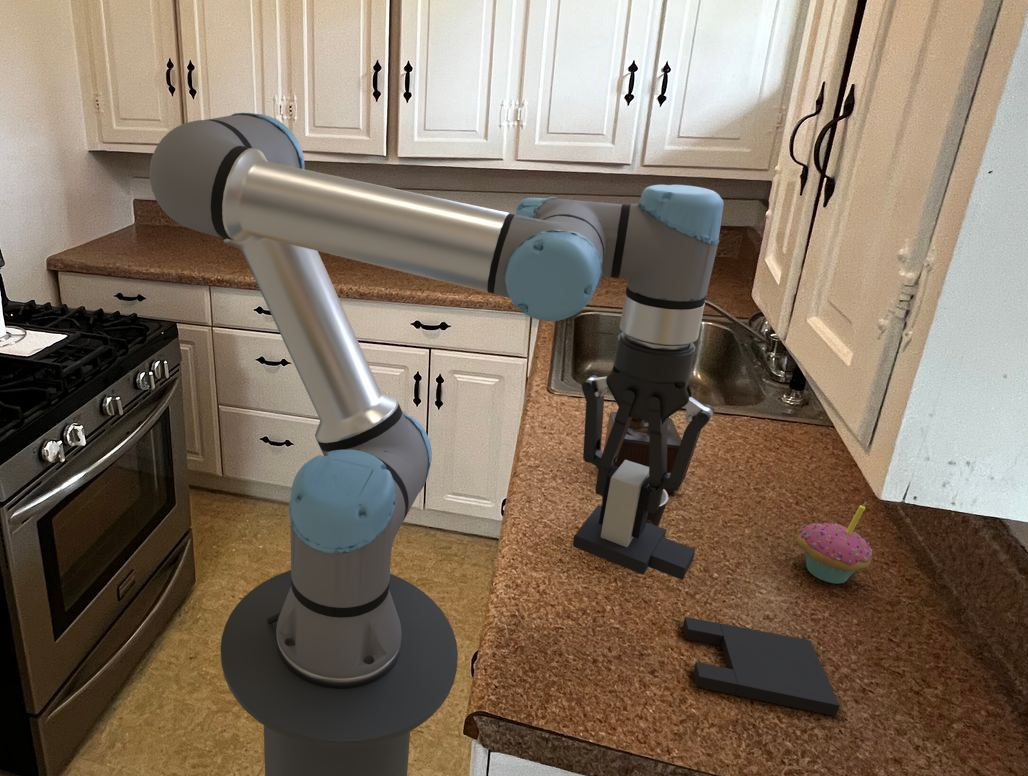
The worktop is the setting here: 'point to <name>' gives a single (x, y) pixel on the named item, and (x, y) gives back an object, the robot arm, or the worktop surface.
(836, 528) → the cupcake
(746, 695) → the black pad
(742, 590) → the worktop surface
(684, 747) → the worktop surface
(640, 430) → the dark brown piece
